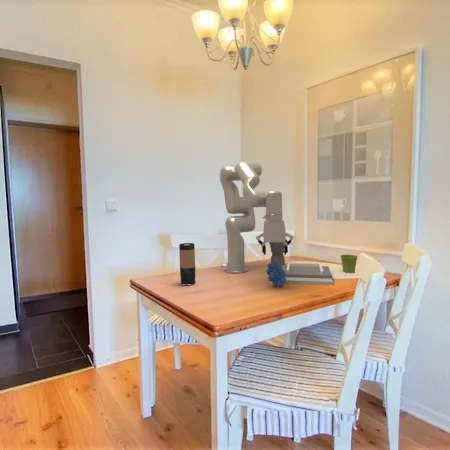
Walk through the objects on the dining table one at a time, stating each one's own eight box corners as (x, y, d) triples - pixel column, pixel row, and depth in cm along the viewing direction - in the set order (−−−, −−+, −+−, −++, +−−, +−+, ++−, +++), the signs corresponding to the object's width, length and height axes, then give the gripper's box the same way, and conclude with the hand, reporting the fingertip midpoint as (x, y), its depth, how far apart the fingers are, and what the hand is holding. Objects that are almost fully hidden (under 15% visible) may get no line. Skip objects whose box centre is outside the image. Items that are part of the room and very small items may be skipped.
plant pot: (359, 270, 189) (359, 255, 188) (356, 274, 181) (356, 258, 180) (342, 269, 194) (342, 254, 193) (338, 272, 186) (338, 256, 185)
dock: (277, 282, 167) (277, 273, 167) (281, 270, 194) (280, 262, 194) (333, 284, 161) (333, 275, 161) (328, 271, 189) (328, 263, 188)
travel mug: (198, 282, 172) (197, 243, 170) (190, 286, 165) (189, 245, 163) (185, 281, 175) (184, 242, 173) (177, 284, 168) (176, 244, 166)
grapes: (260, 285, 163) (260, 261, 162) (269, 283, 167) (269, 259, 166) (279, 290, 154) (279, 264, 153) (289, 287, 159) (288, 262, 157)
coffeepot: (275, 268, 199) (274, 238, 198) (264, 266, 207) (263, 236, 205) (293, 264, 208) (293, 235, 206) (282, 262, 216) (282, 234, 214)
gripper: (254, 218, 156) (255, 255, 157) (293, 217, 152) (293, 255, 153) (256, 217, 163) (257, 253, 164) (293, 217, 159) (294, 253, 160)
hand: (275, 254), depth 159 cm, fingers open, 9 cm apart
